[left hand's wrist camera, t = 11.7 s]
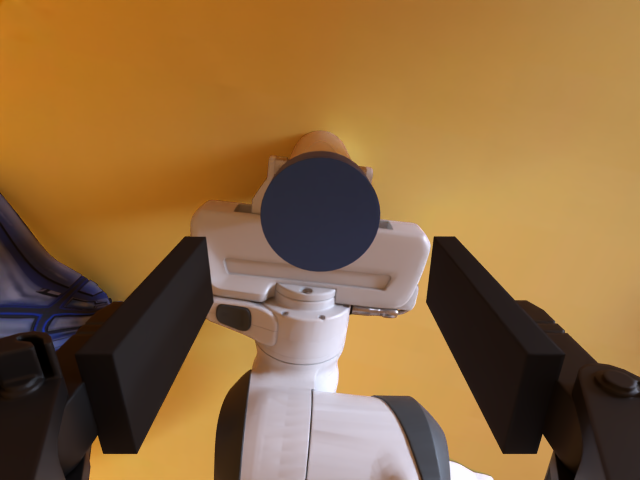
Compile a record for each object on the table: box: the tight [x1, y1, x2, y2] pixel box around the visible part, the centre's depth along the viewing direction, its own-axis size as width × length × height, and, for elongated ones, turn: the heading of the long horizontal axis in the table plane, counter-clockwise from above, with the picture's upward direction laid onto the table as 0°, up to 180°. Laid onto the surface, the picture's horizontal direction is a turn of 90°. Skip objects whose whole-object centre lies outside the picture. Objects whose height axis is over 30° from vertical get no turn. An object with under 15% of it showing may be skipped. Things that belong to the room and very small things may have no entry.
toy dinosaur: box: [0, 193, 112, 461], centre depth 37 cm, size 37×15×15 cm
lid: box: [260, 151, 380, 272], centre depth 21 cm, size 6×6×2 cm
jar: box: [288, 131, 351, 161], centre depth 29 cm, size 6×6×18 cm
